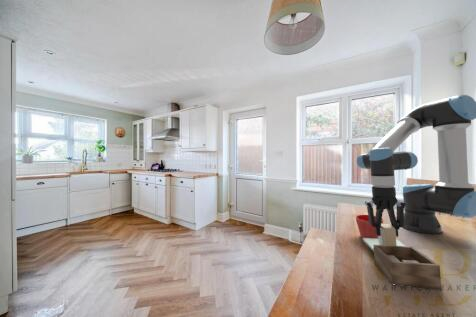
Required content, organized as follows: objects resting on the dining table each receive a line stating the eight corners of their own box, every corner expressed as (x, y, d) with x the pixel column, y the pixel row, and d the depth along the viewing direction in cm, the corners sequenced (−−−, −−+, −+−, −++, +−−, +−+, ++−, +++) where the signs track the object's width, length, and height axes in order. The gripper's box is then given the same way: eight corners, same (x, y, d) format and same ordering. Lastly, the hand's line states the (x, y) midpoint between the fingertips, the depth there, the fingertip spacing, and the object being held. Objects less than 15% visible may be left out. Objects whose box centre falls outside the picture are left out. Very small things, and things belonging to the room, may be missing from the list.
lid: (397, 244, 78) (395, 220, 78) (418, 260, 66) (416, 232, 66) (363, 242, 82) (361, 220, 82) (377, 257, 69) (375, 231, 69)
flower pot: (386, 244, 82) (384, 222, 82) (357, 240, 88) (355, 219, 88) (382, 235, 91) (381, 215, 91) (356, 232, 97) (355, 213, 97)
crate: (413, 266, 65) (412, 246, 65) (441, 289, 53) (439, 265, 53) (374, 263, 68) (373, 244, 68) (393, 285, 56) (391, 262, 56)
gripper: (401, 184, 76) (406, 240, 75) (356, 185, 80) (360, 239, 79) (414, 186, 68) (418, 249, 68) (363, 187, 73) (368, 247, 72)
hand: (387, 243), depth 74 cm, fingers closed on lid, 3 cm apart
